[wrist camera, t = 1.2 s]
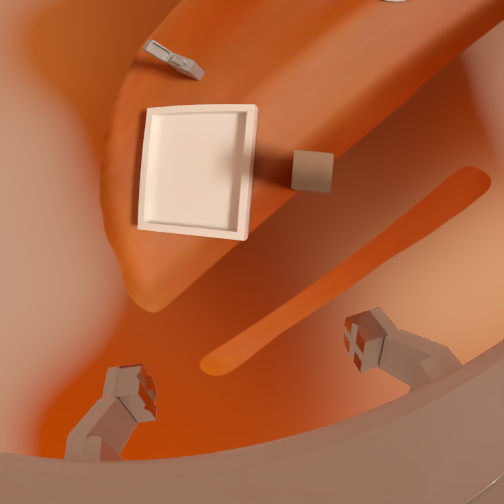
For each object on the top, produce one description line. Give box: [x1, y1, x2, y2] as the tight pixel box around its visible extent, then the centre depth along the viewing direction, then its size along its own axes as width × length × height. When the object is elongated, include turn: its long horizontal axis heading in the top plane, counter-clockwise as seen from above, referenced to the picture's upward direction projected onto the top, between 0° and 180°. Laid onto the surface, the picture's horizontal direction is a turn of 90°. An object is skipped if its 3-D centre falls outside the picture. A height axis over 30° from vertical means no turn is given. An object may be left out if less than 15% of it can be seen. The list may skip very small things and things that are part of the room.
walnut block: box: [291, 150, 334, 194], centre depth 35 cm, size 4×4×10 cm
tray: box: [138, 104, 259, 241], centre depth 41 cm, size 18×16×2 cm
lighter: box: [142, 40, 205, 81], centre depth 36 cm, size 7×2×8 cm, turn 58°
